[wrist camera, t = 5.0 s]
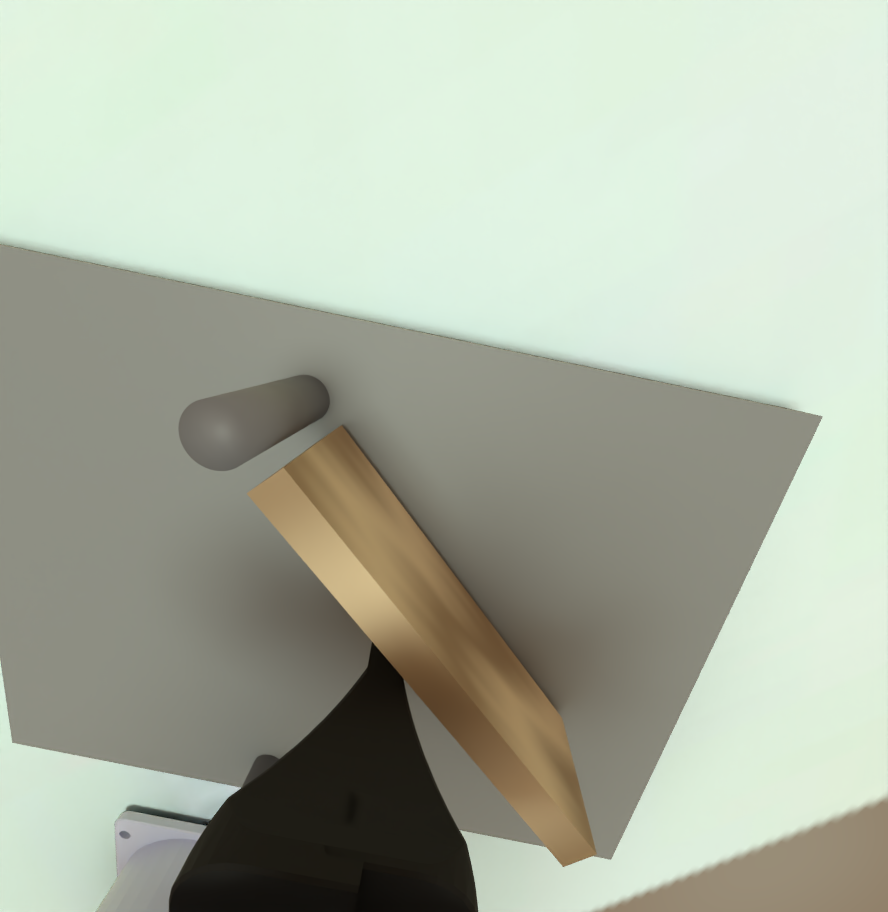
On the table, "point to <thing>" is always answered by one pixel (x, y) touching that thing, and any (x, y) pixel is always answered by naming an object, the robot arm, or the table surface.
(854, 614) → the table surface
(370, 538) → the board
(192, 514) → the gate board
